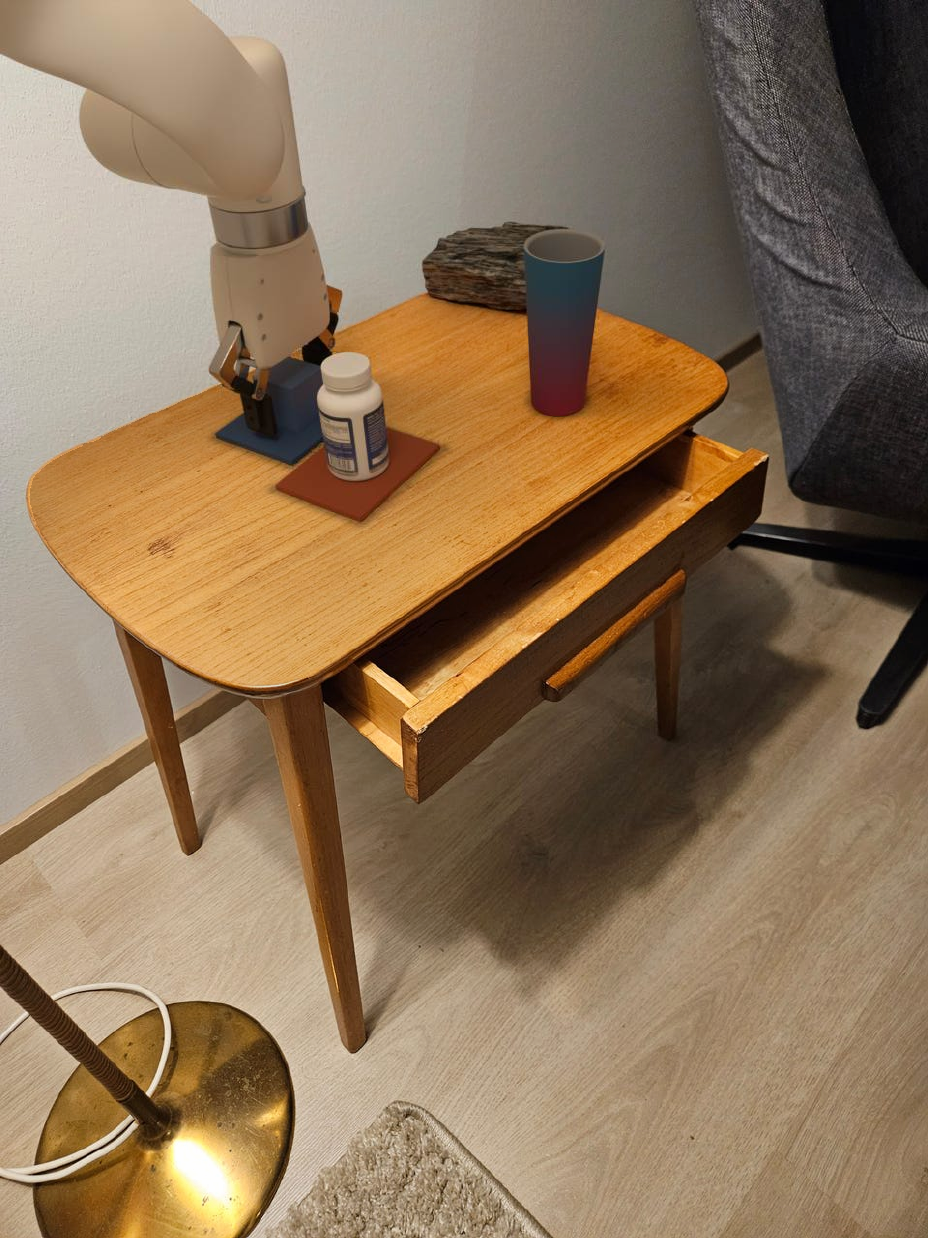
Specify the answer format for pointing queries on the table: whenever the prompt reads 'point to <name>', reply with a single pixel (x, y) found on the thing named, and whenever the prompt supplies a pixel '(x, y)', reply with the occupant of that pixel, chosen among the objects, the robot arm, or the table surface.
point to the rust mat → (358, 496)
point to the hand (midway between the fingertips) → (293, 407)
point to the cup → (561, 315)
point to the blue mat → (274, 440)
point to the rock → (482, 265)
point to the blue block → (294, 392)
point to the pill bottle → (352, 418)
